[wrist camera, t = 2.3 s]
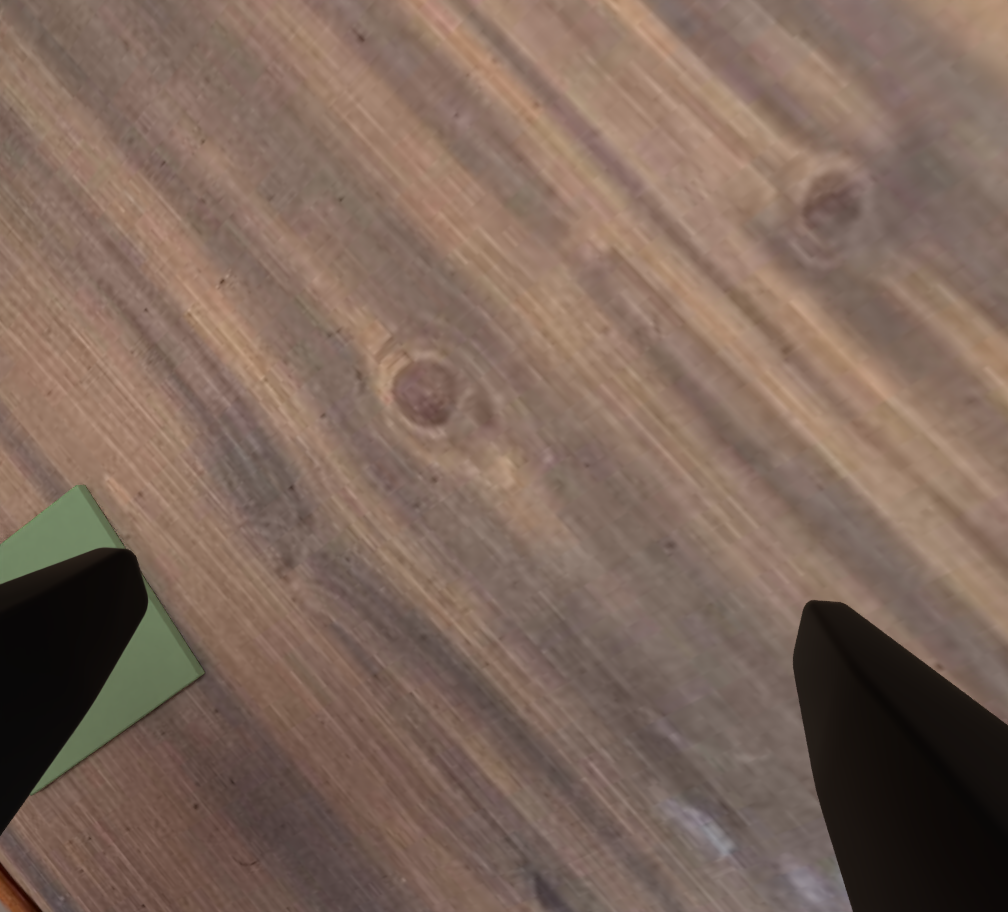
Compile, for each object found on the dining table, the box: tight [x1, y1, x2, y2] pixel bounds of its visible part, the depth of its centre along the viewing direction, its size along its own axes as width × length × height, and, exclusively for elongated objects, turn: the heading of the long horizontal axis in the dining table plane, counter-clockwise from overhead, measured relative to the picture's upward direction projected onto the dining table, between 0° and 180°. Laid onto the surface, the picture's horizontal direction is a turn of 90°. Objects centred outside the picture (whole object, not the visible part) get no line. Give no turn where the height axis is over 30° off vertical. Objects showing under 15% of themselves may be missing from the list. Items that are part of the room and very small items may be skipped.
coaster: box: [0, 485, 205, 795], centre depth 24 cm, size 8×8×1 cm
